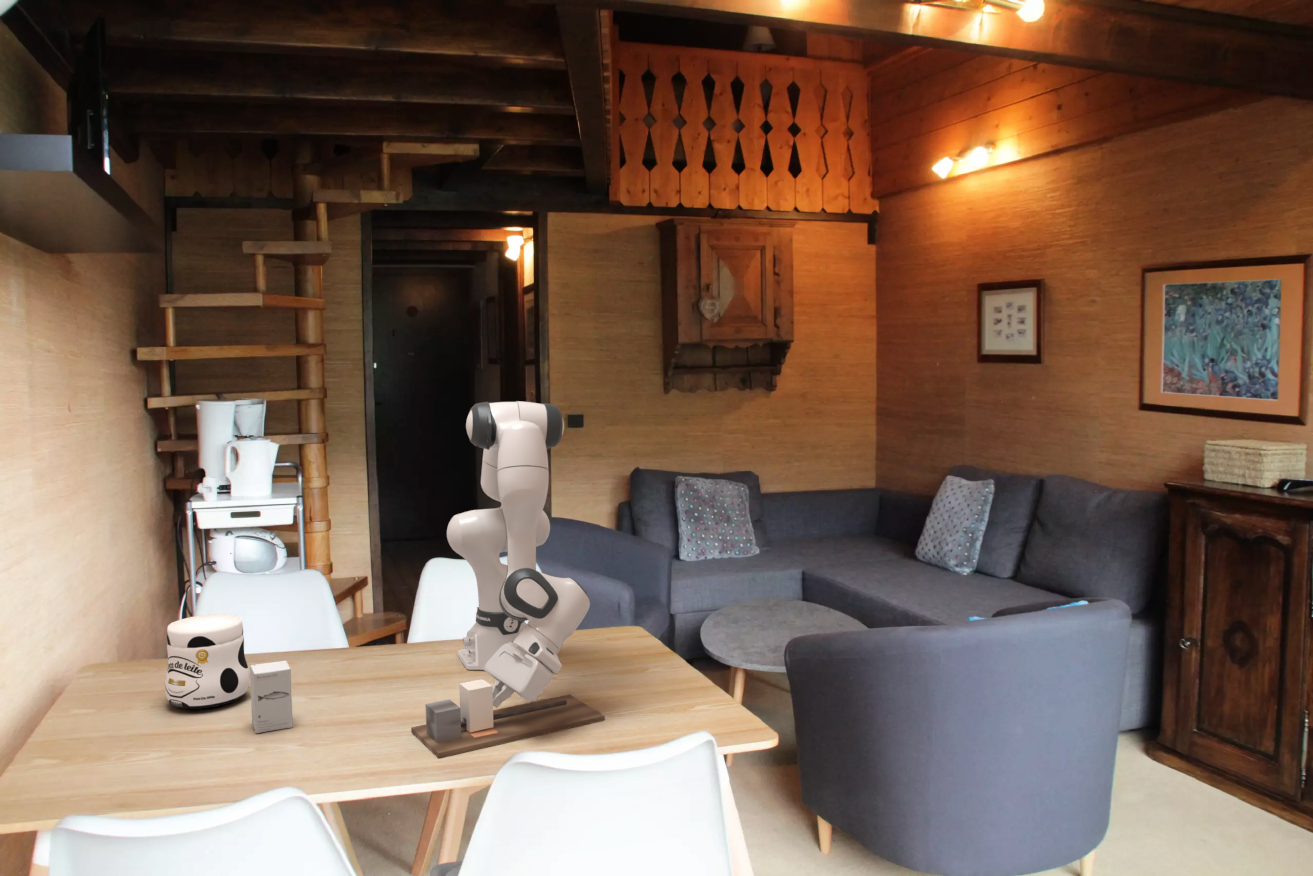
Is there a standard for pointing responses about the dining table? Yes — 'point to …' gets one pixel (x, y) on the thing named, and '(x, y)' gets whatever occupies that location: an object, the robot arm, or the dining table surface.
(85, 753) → the dining table surface
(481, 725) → the cream sliding block
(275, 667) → the supplement box
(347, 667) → the dining table surface
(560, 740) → the dining table surface
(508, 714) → the wooden slider track base
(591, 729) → the dining table surface
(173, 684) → the milk container
